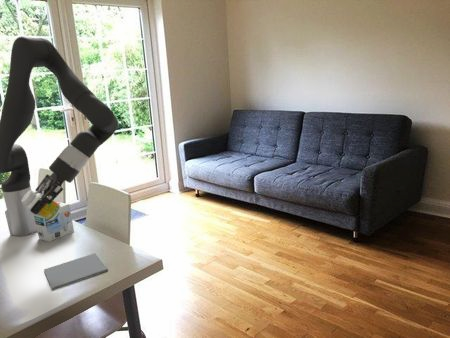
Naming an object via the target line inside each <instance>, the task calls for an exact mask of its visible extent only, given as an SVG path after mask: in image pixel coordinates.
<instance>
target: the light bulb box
mask: <svg viewBox="0 0 450 338" xmlns="http://www.w3.org/2000/svg"><path fill="white" fill-rule="evenodd" d="M56 203H58V204H59V205H60V206H61V209H60V212H59V213H58V215H57V216H56V217H55V218H54V219H53V220H47V219H46V218H44V217H42V216H40V215H39V214H34V218H35V223H36V227H37V231H36V232H37V235H38V239H39V240H42V241H45V242H48V243H49V242H52V241H54V240H56V239H59V238H61V237H63V236H66V235H68V234H71V233H73V232H74V231H75V228H74V223H73V218H72V213H71V207H70V203H66V202H65V203H64V202H60V201H57V202H56Z"/></svg>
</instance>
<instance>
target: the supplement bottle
mask: <svg viewBox="0 0 450 338" xmlns="http://www.w3.org/2000/svg"><path fill="white" fill-rule="evenodd" d="M35 192H36V191H33V190H32V189H31V190H30V191H28V192H27V193H26V194H25V195H24V197H23V198H22V202H23V203H24V204H28V208H29V209H31V208H32V207H33V206H34V204H35V203H36V202H37V201H38V200H39V198H40V197H41V195H42V194H41V193H37V194H35ZM46 198H48V196H47V197H46ZM60 209H61V206H60V205H59V204H58V203H57V202H56V201H54V200H53V201H52V202H51V203H50V204H45V206H44V207H43V208H42V209H41V210H40V212H39V213H38V214H39V215H40V216H42V217H44V218H46V219H47V220H53V219H54V218H55V217H56V216H57V215H58V213H59V212H60Z"/></svg>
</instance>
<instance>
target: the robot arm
mask: <svg viewBox="0 0 450 338" xmlns="http://www.w3.org/2000/svg"><path fill="white" fill-rule="evenodd" d="M10 54H11V55H10V64H9V74H8V75H9V76H8V81H7V87H6V92H5V97H4V98H3V99H4V100H3V104H2V109H1V115H0V174H7V173H10V175H9V176H8V177H7V178H6V179H5V180H4V181H3V182H1V186H0V187H1V190H2V195H3V200H4V203H5V207H6V210H5V211H4V214H5V218H6V223H7V226H8V227H7V228H8V231H9V235H10V236H14V237H22V236H27V235H31V234H35V233H36V232H37V227H36V223H35V218H34V214H38V213H39V212H40V210H41V209H42V208H43V207H44V206H45V204H50V203H51V202H52V201H54V200H55V199H56V198H57V197H58V196H59V194H61V193H62V192H63V190H64V188H63V187H62V186H63V184H64V182H67V183H72V182H73V181H74V179H76V177H77V176H78V175H79V173H80V172H81V171H82V170H83V168H84V167H85V166H86V165H87V162H89V160H90V158H91V157H92V156H93V154H94V153H95V152H96V151H97V150H98V149H99V147H100V146H101V145H103V144H104V143H105V142H107V140H109V139H110V138H111V137H112V136H113V135H114V134H115V132H116V131H117V129H118V126H119V121H118V118H117V116H116V115H115V113H114V111H112V109H111V108H110V107H109V106H108V105H107V104H105V103H104V101H102V100H100V99H99V98H98V97H97V96H96V95H95V94H94V93H93V91H92V90H90V89H89V87H88V86H86V85H85V83H84V82H82V80H80V79H79V77H77V75H76V74H75V72H73V70H72V69H71V68H70V66H69V65H68V63H67V61H65V60H64V58H63V56H62V55H61V53H60V52H59V50H58V49H57V48H56V47H55V46H54V44H53V43H52V42H51V41H50V40H49V39H47V38H46V37H42V36H31V35H29V36H27V35H26V36H25V35H24V36H22V35H21V36H18V37H17V38H16V39H14V42H13V44H12V47H11V52H10ZM34 68H46V69H47V70H48V71H49V72H51V73H52V74H53V75H54V76H55V77H56V79H57V82H58V86H59V88H60V89H59V90H60V91H61V93H62V95H63V96H64V98H65V99H66V101H68V102H69V103H70V104H71V106H73V107H74V108H75V109H76V110H77V111H78V112H79V113H82V115H83V116H84V117H85V118H86V119H87V120H88V121H89V123H90V124H92V125H91V126H90V127H89V128H88V129H87V130H84V131H83V130H81V131H80V132H79V133H78V134H77V135H76V136H75V137H74V138H73V139H72V141H71V142H70V143H69V144H68V145H67V146H66V147H64V149H63V150H62V151H61V153H59V155H58V156H56V159H55V160H53V161H52V163H51V164H50V165H49V167H48V169H49V170H50V171H51V172H52V173H51V174H46V175H45V176H44V177H43V179H42V180H41V182H39V184H38V186H37V187H36V188H35V191H34V192H35V194H37V193H41V194H42V195H41V197H40V198H39V200H38V201H37V202H36V203H35V204H34V206H33V207H32V208H31V209H29V208H28V204H24V203H23V202H22V198H23V197H24V195H25V194H26V193H27V192H28V191H30V190H31V191H32V187H31V172H30V168H29V167H30V166H29V160H28V155H27V153H26V151H25V149H24V147H23V146H22V145H19V144H15V143H16V142H17V140H18V139H19V137H21V136H22V135H23V133H24V132H25V131H26V130H27V129H28V127H29V126H30V125H31V123H32V121H33V117H34V113H35V111H36V100H35V96H34V94H33V92H32V89H31V87H30V79H31V74H32V71H33V69H34ZM46 197H48V198H46Z"/></svg>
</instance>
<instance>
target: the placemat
mask: <svg viewBox="0 0 450 338" xmlns="http://www.w3.org/2000/svg"><path fill="white" fill-rule="evenodd" d="M108 271H109V270H108V268H107V266H106V265H105V263H104V262H103V261H102V260H101V259H100V257H99V256H98V255H97V254H96V253H95V252H94V253H91V254H87V255H85V256H81V257H78V258H75V259H72V260H70V261H66V262H62V263H60V264H57V265H54V266H51V267H47V268H44V269H43V272H44V274H45V276H46V278H47V281H48V283H49V286H50V287H51V290H52V291H53V290H56V289H59V288H62V287H64V286H67V285H70V284H73V283H74V284H75V283H77V282H79V281H81V280H85V279H87V278H91V277H94V276H96V275H99V274H103V273H105V272H108Z"/></svg>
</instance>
